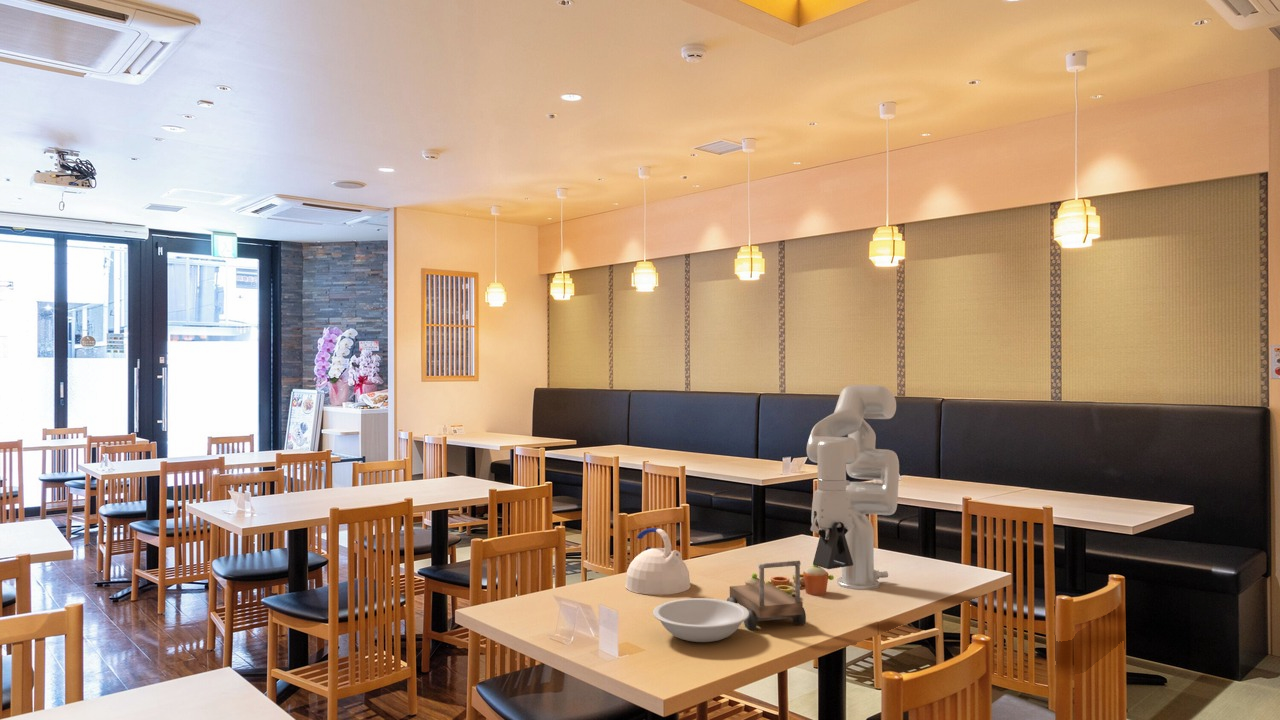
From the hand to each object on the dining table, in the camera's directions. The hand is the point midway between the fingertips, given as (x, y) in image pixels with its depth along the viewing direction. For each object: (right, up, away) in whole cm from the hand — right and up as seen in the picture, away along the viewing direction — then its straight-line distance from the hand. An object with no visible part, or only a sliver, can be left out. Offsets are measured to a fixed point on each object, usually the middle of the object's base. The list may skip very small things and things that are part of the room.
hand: (832, 552), depth 225 cm
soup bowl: (-37, -17, -17) cm, 44 cm away
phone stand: (0, -3, 0) cm, 3 cm away
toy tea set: (-8, -18, +22) cm, 29 cm away
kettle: (-47, -18, +31) cm, 59 cm away
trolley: (-19, -17, -4) cm, 26 cm away
